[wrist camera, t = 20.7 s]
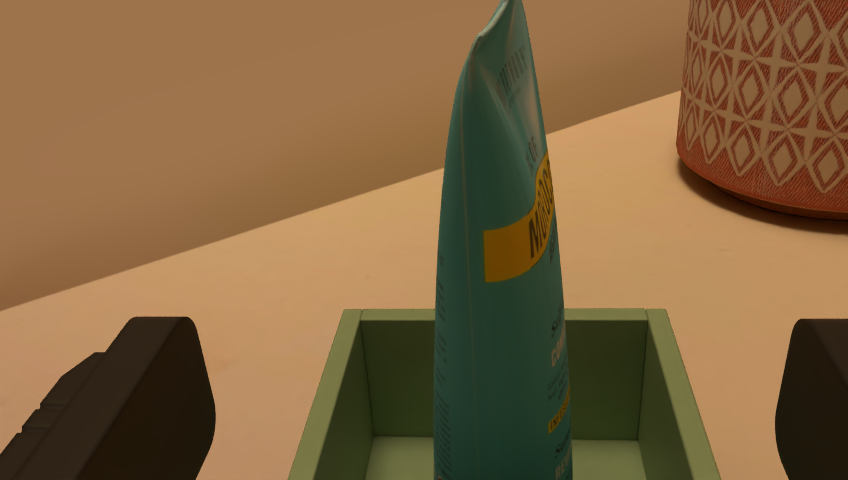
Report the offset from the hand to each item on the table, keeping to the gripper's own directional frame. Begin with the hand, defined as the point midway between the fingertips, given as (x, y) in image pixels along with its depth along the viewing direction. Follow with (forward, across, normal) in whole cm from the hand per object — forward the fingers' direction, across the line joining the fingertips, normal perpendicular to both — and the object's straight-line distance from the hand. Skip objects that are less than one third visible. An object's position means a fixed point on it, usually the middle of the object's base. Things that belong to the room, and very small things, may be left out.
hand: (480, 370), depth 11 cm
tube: (+11, 0, +16) cm, 20 cm away
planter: (+45, -22, +17) cm, 53 cm away
